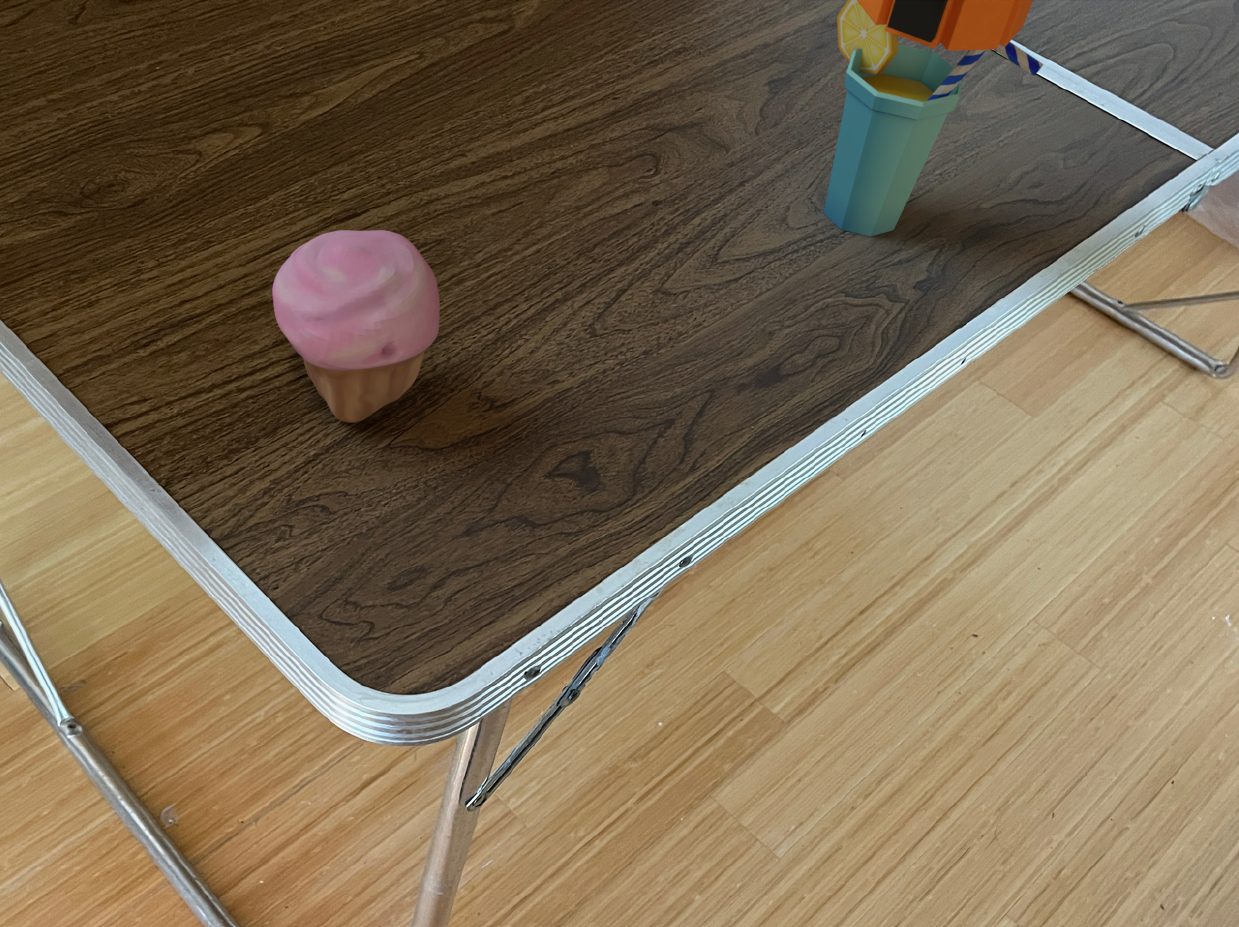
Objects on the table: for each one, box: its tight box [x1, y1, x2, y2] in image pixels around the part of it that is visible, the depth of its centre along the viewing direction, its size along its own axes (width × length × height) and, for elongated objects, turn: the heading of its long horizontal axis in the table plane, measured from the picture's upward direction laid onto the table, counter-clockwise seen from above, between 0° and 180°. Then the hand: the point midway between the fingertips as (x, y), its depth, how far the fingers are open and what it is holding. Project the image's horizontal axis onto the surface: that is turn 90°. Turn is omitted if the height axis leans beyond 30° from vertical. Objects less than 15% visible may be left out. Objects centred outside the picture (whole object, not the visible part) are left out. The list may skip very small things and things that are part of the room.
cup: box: [823, 0, 1044, 237], centre depth 81 cm, size 14×8×15 cm, turn 50°
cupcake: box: [271, 229, 441, 424], centre depth 67 cm, size 9×9×10 cm
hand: (942, 1), depth 75 cm, fingers closed on ring, 9 cm apart
